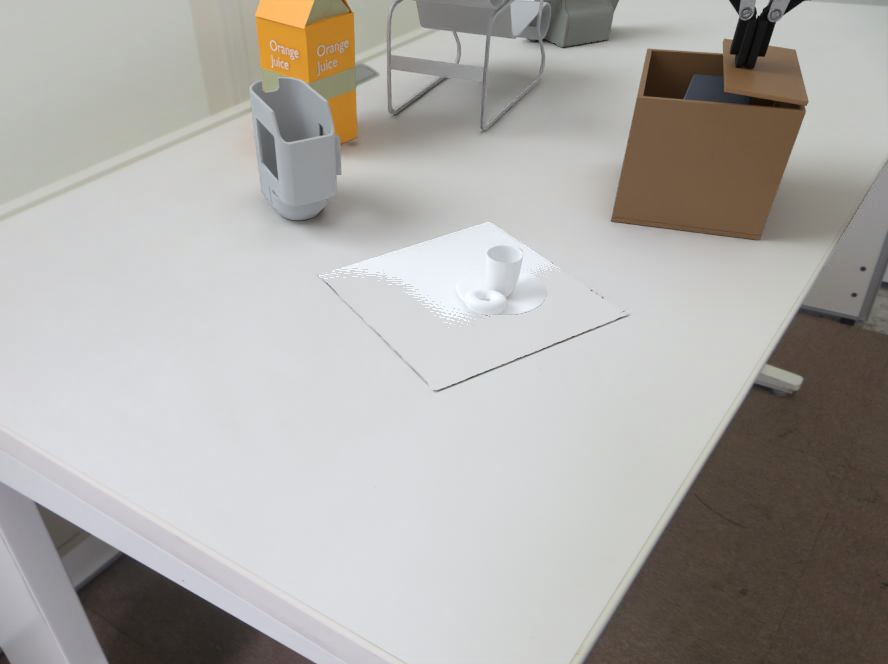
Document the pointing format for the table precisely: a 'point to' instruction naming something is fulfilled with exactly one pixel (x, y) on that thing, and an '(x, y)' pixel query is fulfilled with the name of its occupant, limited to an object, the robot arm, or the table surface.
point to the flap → (766, 76)
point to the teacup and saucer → (498, 280)
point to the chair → (476, 12)
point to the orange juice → (312, 52)
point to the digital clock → (579, 21)
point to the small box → (713, 91)
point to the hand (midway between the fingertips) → (744, 63)
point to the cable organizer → (295, 147)
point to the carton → (702, 152)
